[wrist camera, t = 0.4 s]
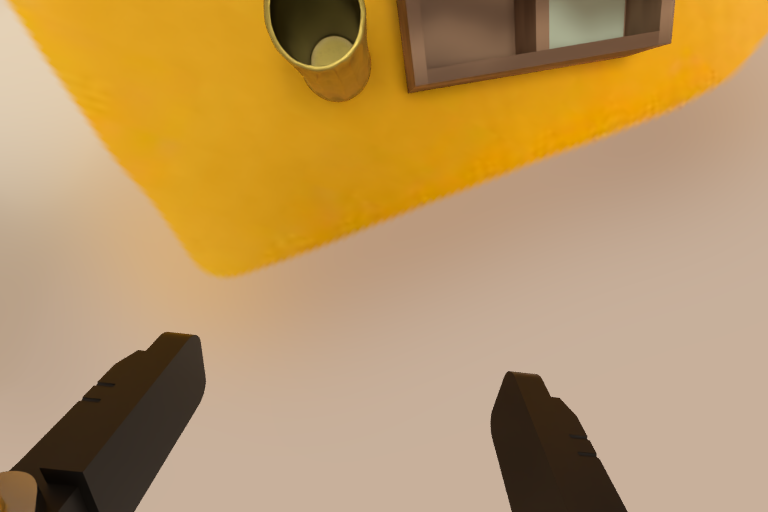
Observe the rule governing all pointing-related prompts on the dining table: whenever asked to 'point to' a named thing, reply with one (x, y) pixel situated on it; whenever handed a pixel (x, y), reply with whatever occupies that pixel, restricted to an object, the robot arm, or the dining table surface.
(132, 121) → the dining table surface
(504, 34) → the wooden compartment tray
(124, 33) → the dining table surface
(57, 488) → the robot arm
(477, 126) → the dining table surface
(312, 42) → the vase
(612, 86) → the dining table surface
